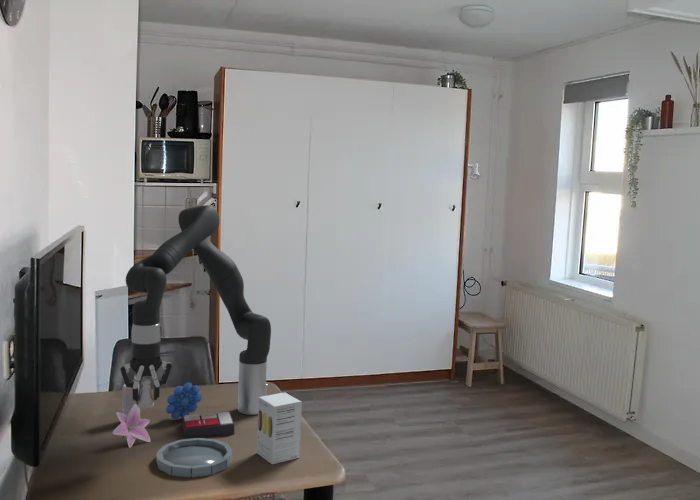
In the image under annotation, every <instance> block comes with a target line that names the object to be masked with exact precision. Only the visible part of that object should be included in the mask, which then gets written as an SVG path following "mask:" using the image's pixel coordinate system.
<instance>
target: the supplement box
mask: <svg viewBox="0 0 700 500" xmlns="http://www.w3.org/2000/svg"><path fill="white" fill-rule="evenodd" d="M302 410H303V401H301V400H299V399H298V398H296V397H294V396H292V395H290V394H288V393H287V392H285V391H284V392H279V393H274V394H267V396H262V397H259V402H258V414H257V429H256V430H257V433H256V450H255V451H256V452H255V453H256V454H257V455H259V456H260V457H261V458H262V459H264V460H265V461H266V462H268V463H269V464H271V465H275V464H276V465H277V464H279V463H280V464H281V463H283V462H287V461H292V460H295V459H299V458H300V450H301V430H302V429H301V426H302Z"/></svg>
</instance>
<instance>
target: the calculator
mask: <svg viewBox="0 0 700 500" xmlns="http://www.w3.org/2000/svg"><path fill="white" fill-rule="evenodd" d="M181 419H182V430H183V431H182V432H183V437H184V438H185V439H191V438H205V437H211V436H213V437H214V436H230V435H231V436H232V435H235V423H234V419H233V417H232V413H231V412H230V411H222V412H207V413H196V414H189V415H186V416H184V417H183V418H181Z"/></svg>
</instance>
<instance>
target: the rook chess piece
mask: <svg viewBox="0 0 700 500" xmlns="http://www.w3.org/2000/svg"><path fill="white" fill-rule="evenodd" d="M152 382H153V379H151V376H144V377H141V379H140V381H139V384H140V398H139V400H138V403H139V404H138V405H137V406H138V407H139V408H140V410H141V409H143V410H146V409H151V408H153V407H154V405H155V403H154V402H155V400H154V397H153V396H152V392H151V388H152V385H151V384H152Z"/></svg>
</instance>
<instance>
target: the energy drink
mask: <svg viewBox="0 0 700 500" xmlns="http://www.w3.org/2000/svg"><path fill="white" fill-rule="evenodd" d="M121 392H122V394H121V395H122V402H121V403H122V405H121V406H122V407H121V409H122V410H121V411H122V412H121V413H123V414H125V415H127V416H128V414H129V412H130V411H131V409H132V407H133V406H134V404H137V405H138V404H139V403H138V402H135V400H133V397H132V388H131V387H126V385H125V383H124V384H123V385H122V391H121ZM140 396H141V383H139V384H138V400H139V398H140ZM138 409H139V412H140V413H141V408H139V407H138Z"/></svg>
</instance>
